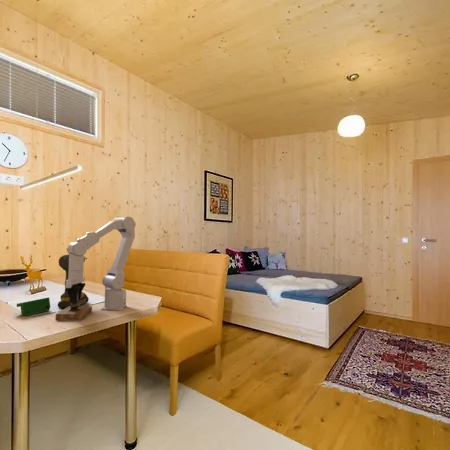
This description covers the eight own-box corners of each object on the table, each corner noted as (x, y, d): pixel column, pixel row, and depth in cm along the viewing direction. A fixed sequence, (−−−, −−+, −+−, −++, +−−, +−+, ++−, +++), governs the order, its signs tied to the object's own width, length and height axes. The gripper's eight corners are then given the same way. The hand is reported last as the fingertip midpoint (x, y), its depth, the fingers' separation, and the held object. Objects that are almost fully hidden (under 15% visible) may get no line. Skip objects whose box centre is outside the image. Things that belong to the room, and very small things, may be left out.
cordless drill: (96, 299, 154) (97, 252, 154) (72, 310, 134) (74, 255, 134) (80, 298, 155) (81, 251, 155) (54, 309, 135) (56, 254, 135)
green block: (39, 319, 133) (45, 299, 137) (47, 318, 131) (52, 298, 135) (11, 315, 124) (18, 293, 128) (19, 314, 121) (26, 292, 126)
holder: (91, 311, 133) (92, 306, 133) (80, 320, 121) (81, 314, 121) (68, 311, 132) (69, 306, 132) (55, 320, 120) (55, 314, 120)
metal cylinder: (79, 307, 128) (79, 290, 128) (75, 309, 125) (76, 291, 125) (72, 307, 128) (73, 290, 128) (69, 309, 125) (69, 291, 125)
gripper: (73, 267, 133) (72, 297, 133) (58, 272, 119) (56, 305, 119) (89, 267, 134) (88, 297, 134) (76, 272, 119) (75, 306, 119)
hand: (75, 301), depth 126 cm, fingers closed on metal cylinder, 3 cm apart
